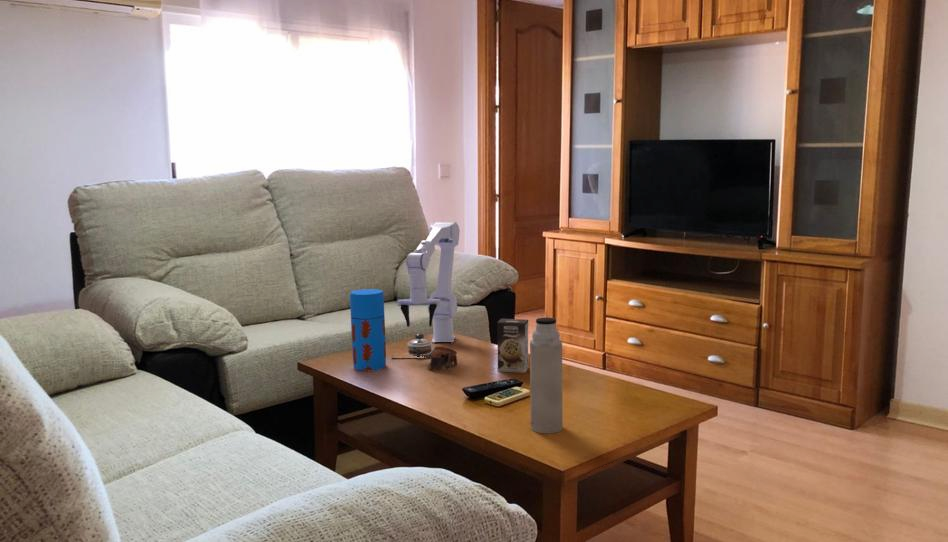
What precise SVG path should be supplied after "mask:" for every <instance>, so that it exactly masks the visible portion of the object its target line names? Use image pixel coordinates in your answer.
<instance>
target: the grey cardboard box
mask: <svg viewBox="0 0 948 542" xmlns="http://www.w3.org/2000/svg"><path fill="white" fill-rule="evenodd" d="M528 369H529V319H523V318H522V319H521V318H520V319H518V318H500V319H499V320H498V321H497V372H502V373H503V372H505V373H519V374H520V373H521V374H524V373H526V372H527V371H528Z"/></svg>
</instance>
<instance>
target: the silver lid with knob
mask: <svg viewBox="0 0 948 542" xmlns="http://www.w3.org/2000/svg"><path fill="white" fill-rule="evenodd" d="M424 337H425V336H424V333H420V332H419V333H415V334H414V339H411V340H410V341H409V342H410V344H412V345H425V344H428V343H429V341H430V340H428V339H425V338H424Z"/></svg>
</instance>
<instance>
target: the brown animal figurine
mask: <svg viewBox="0 0 948 542" xmlns="http://www.w3.org/2000/svg"><path fill="white" fill-rule="evenodd" d="M433 348H434V349H435V350H434V351H433V352H432V353H431V354H430V355H431V356H432V357H431V358H430V362H428V364H427V365H428V369H429V370H428V369H427V370H428V371H430V370H431V371H436V372H440V371H442V372H443V368H444V369H445V370H449V369H451V367H452V365H453V366H454V367H455V366H458V365H457V364H458V359H457V354H458V352H457V350H454V349H453V348H450V347H446V346H435V347H433Z"/></svg>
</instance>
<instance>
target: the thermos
mask: <svg viewBox="0 0 948 542" xmlns="http://www.w3.org/2000/svg"><path fill="white" fill-rule="evenodd" d="M384 296H385V295H384V291H383V290H382V289H376V288H367V289H356V290H352V291H351V292H350V293H349V305H350V309H349V310H350V328H351V329H350V330H351V348H352V351H351V353H352V354H351V355H352V362H353V364H352V365H353V369H354V368H355V369H354V370H356V369H357V370H356V371H359V370H367V371H366V372H369V371H368V370H375V371H378V370H377V369H380V370H382V369H381V368H383V369H384V367H385V368H386V367H387V366H386V365H387V364H386V363H387V349H386V347H387V346H386V321H385V297H384Z"/></svg>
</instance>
